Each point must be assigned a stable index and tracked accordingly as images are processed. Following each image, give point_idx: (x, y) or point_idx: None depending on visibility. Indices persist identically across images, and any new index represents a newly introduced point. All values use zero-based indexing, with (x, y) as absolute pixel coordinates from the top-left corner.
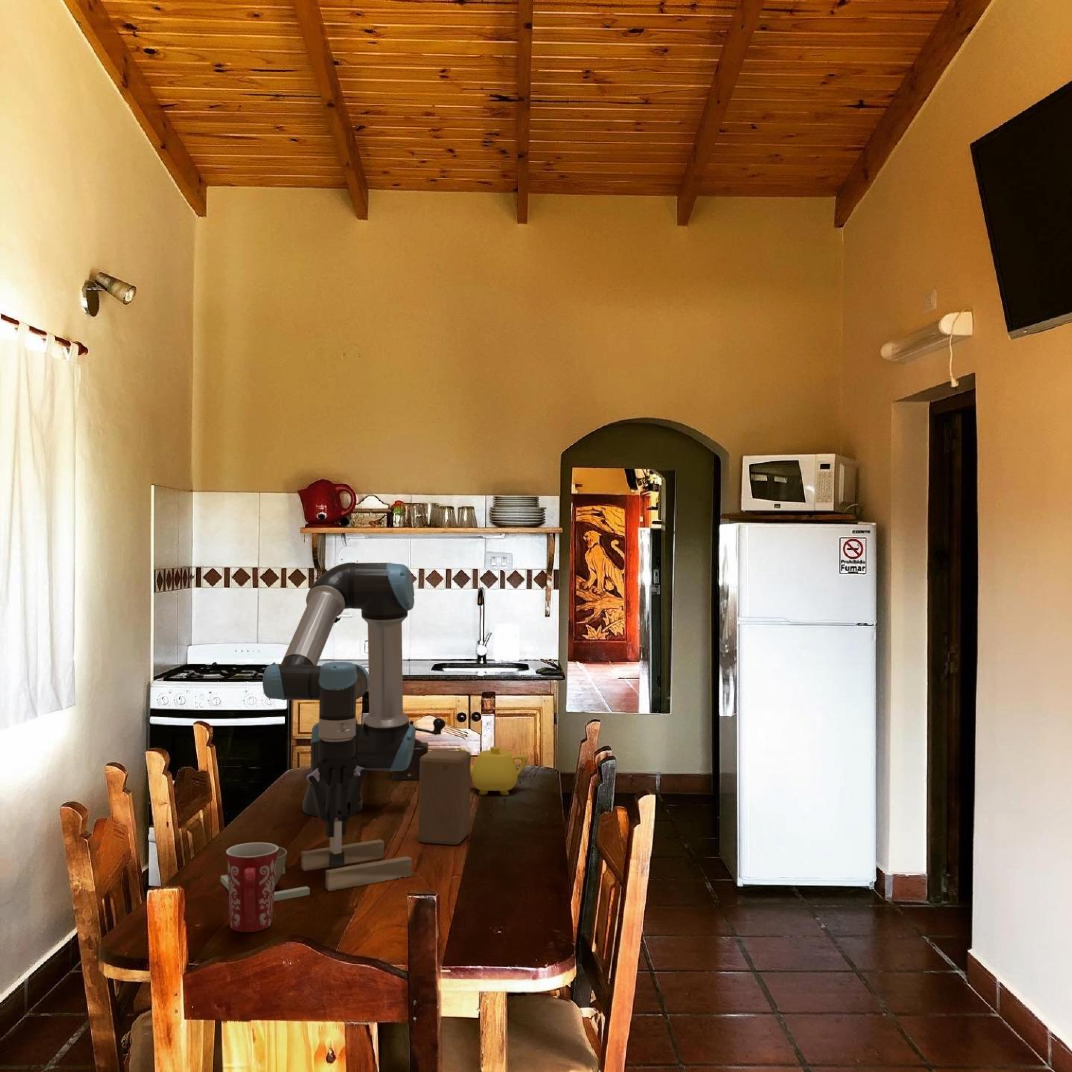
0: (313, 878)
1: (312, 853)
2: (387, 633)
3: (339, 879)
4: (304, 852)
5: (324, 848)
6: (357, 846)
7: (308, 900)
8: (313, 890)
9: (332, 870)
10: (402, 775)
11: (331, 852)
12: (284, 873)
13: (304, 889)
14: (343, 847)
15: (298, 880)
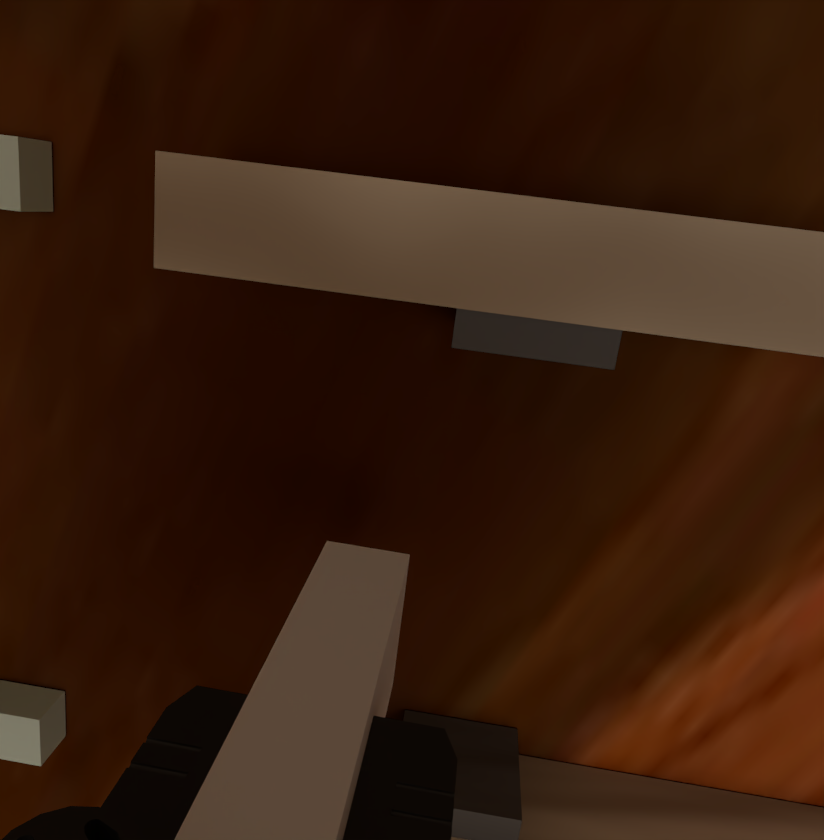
0: (216, 469)
1: (246, 279)
2: None
3: None
4: (175, 200)
5: (440, 199)
6: (818, 355)
7: (29, 803)
8: (119, 683)
9: None
10: None
11: (475, 311)
12: (48, 211)
13: (5, 758)
14: (647, 308)
15: (98, 438)
